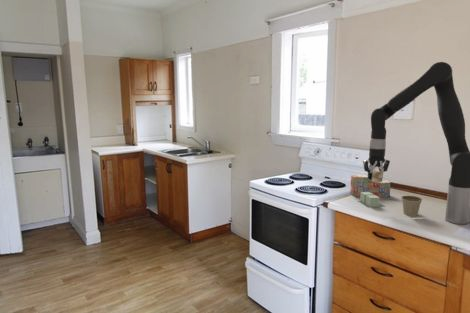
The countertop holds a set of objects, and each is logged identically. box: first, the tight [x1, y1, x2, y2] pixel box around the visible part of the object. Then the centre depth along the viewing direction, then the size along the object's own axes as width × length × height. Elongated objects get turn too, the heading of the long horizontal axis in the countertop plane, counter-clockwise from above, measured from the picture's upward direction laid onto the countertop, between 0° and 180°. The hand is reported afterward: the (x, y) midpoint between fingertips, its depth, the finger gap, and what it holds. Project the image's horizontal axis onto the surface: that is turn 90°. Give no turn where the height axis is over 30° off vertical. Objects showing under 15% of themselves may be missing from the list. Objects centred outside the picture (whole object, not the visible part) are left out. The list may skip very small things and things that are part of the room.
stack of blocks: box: [350, 174, 391, 198], centre depth 200 cm, size 21×6×12 cm, turn 81°
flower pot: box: [400, 195, 423, 217], centre depth 167 cm, size 9×9×9 cm
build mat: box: [357, 200, 386, 209], centre depth 184 cm, size 10×12×1 cm
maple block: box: [368, 169, 384, 182], centre depth 175 cm, size 5×5×5 cm
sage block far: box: [359, 192, 373, 203], centre depth 187 cm, size 5×5×5 cm
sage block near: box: [366, 195, 381, 208], centre depth 181 cm, size 5×5×5 cm
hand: (375, 179), depth 175 cm, fingers closed on maple block, 5 cm apart
